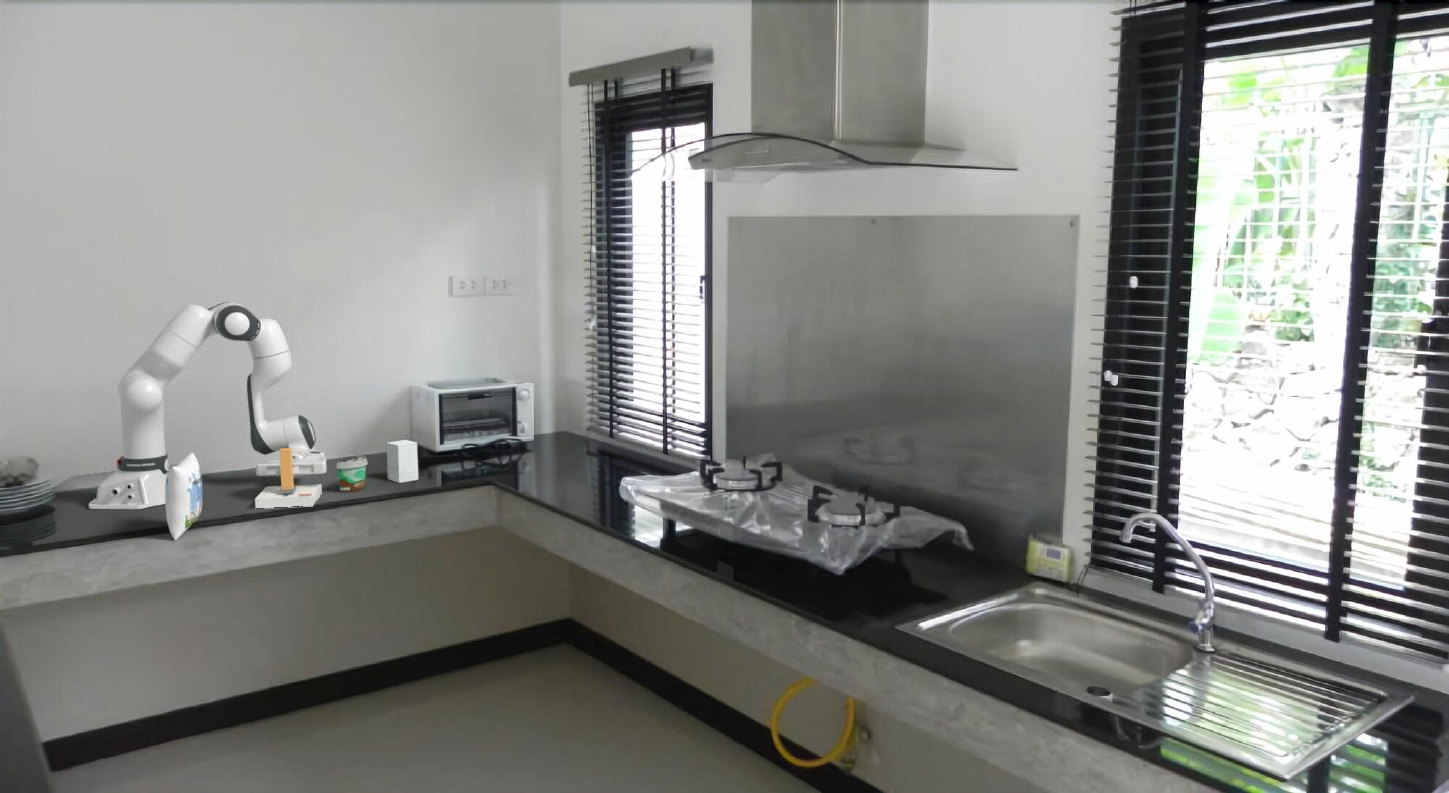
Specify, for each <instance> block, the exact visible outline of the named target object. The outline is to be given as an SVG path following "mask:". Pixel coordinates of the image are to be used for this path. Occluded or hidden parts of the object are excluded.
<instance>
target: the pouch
mask: <svg viewBox="0 0 1449 793" xmlns="http://www.w3.org/2000/svg"><path fill="white" fill-rule="evenodd" d="M164 505H165V508H164V509H165V515H166V521H167V526H168V530H169V532H170V535H171V536H172V538H173V540H174V541H175V542H176V541H177V540H178V539H179V538H180V537H182V536H183V534H184V533H185V532H186V531H187V530H188V529H190V527H191V526H192V525H193V523H196V521H197V520H198V519H199V518H200V516H201V514H202V508H203V479H202V473H201V467H200V464H199V461H198V459H197V457H196V455H195V453H193V452H191V453H189V454H188V455H187V456H186V457H184V458H183V459H182V461H181V462H180V463H178V464H176V466H175V465H174V466H172V467H171V468H169V471H168V474H167V477H166V484H165V504H164Z"/></svg>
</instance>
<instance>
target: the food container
mask: <svg viewBox="0 0 1449 793" xmlns="http://www.w3.org/2000/svg"><path fill="white" fill-rule="evenodd" d="M368 464H369V462H368V459H367V457H366V455H362V454H356V457H354V458H352V459H350V458H349V459H347V460H345V461H337V462H336V469H337V473H338V474H337V475H338V482H339V483H338V484H339V492H349V493H356V492H355V491H357V492H360V491H359V490H361V491H364V490H365V489H364V488H366V466H367V465H368ZM363 489H364V490H363Z"/></svg>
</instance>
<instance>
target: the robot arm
mask: <svg viewBox="0 0 1449 793" xmlns="http://www.w3.org/2000/svg"><path fill="white" fill-rule="evenodd" d="M213 335H219V336H221V338H224V339H227V340H230V341H234V342H238V341H239V342H246V344H247V346H248V348H249V350H250V353H251V354H250V355H251V358H252V362H253V365H252V366H253V367H252V371H251V373H249V374H248V376H247V379H246V393H247V397H246V398H247V408H248V415H249V428H250V429H249V430H250V433H249V434H250V436H249V437H250V438H249V439H250V444H251V447H252V448H253V450H254V451H255V452H257V453H259V454H261V455H264V456H265V455H270V454H273V453H276V452H278V451H279V452H280V449H284V448H292V463H293V479H299V478H302V477H305V476H309V475H311V476H312V475H323V474H326V473H327V471H328V470H327V457H326V456H325V453H324V452H322V451H321V452H320V451H317V450H316V447H315V444H316V442H317V437H316V433H315V429H314V427H313V424H312V423H311V421H310V420H309V419H308V418H306V417H305V416H303V415H300V414H299V415H294V416H289V417H284V418H281V419H280V418H279V419H275V420H271V421H267V420H266V418H265V410H264V400H263V399H264V398H263V397H264V394H265V392H266V391H267V390H268V389H270V388H271V387H272V386H274V385H276V384H277V383H279V382H281V381H282V380H283V379H284V378H286V377H287V376H288V374H289V373H290V372H291V369H292V368H293V359H292V358H293V357H292V353H291V351H290V350H291V349H290V347H289V343H288V342H287V339H286V338H287V337H286V336H285V334H284V331H283V330H282V327H281V326H280V323H279V322H278V321H277V320H276V319H272V318H268V317H266V318H265V317H263V318H259V319H258V318H257V317H256V315H254V314H253V313H252V312H251V311H250V310H249V309H248V308H247V307H246V306H244V305H242V304H239V303H236V302H230V301H226V302H221V303H219V304H216V305H214V306H211V307H209V308H206V307H204V306H202V305H199V304H194V303H193V304H187V305H185V306H184V307H183V308H182V309H181V310H180V311H178V312H177V313H176V314H175V315H174V316H173V317H172V318H171V320H170V321H168V322H167V324H166V325H165V326H164V327H163V328H162V330H161V331H160V332H159V334H158V335H157V336H156V337H155V339H154V340H153V342H152V343H151V344H150V345H149V346H148V348H147V349H146V350H145V351H144V352H143V353H142V354H141V355H140V357H139V358H138V359H137V360H136V361H135V362H134V363H133V364H132V366H130V368H129V369H128V370H127V371H126V373H125V374H124V375H123V376H122V377H121V378H120V380H119V382H118V385H117V393H118V396H119V399H120V411H121V413H120V414H121V436H122V439H121V440H122V450H123V451H122V452H123V455H121V456H120V457H119V459H116V461H115V466H117V467H116V468H117V470H115V472H113V473H112V474H110V475H109V476H107V478H106V479H104V480H103V481H102V482H101V483H100V484H99V485H98V487H97V490H96V491H97V492H96V498H94V499H93V500H91V501H90V502H89V503H88V508H89V510H141V509H146V508H150V507H155V506H161V505H165V484H166V477H167V474H168V472H169V470H170V465H169V458H168V454H167V453H166V440H165V439H166V438H165V437H166V436H165V406H164V405H165V403H164V401H165V399H164V390H165V389H166V388H167V387H168V386H169V384H170V383H171V382H172V381H173V380H174V379H175V378H176V377H177V376H178V374H180V373H181V372H182V371H183V370H184V369H185V367H186V366H187V364H188V363H189V362H190V361H191V360H192V358H193V357H194V356H195V355H196V353H197V352H198V350H199V349H200V348H201V346H203V344H204V343H205V341H206V340H207V339H208V338H209V337H211V336H213ZM255 473H256V474H255V475H256V476H258V477H264V476H265V477H268V476H281V469H280V459H265V460H262V461H259V462H258V463H256V464H255Z"/></svg>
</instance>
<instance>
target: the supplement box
mask: <svg viewBox="0 0 1449 793" xmlns="http://www.w3.org/2000/svg"><path fill="white" fill-rule="evenodd" d="M418 459H419V458H418V442H417V441H412V440H408V439H401V440H396V441H390V442H386V460H387V464H386V465H387V480H388V479H389V480H388V481H392V482H395V483H406V482H412V481H418V480H419V462H418V461H419V460H418Z"/></svg>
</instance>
